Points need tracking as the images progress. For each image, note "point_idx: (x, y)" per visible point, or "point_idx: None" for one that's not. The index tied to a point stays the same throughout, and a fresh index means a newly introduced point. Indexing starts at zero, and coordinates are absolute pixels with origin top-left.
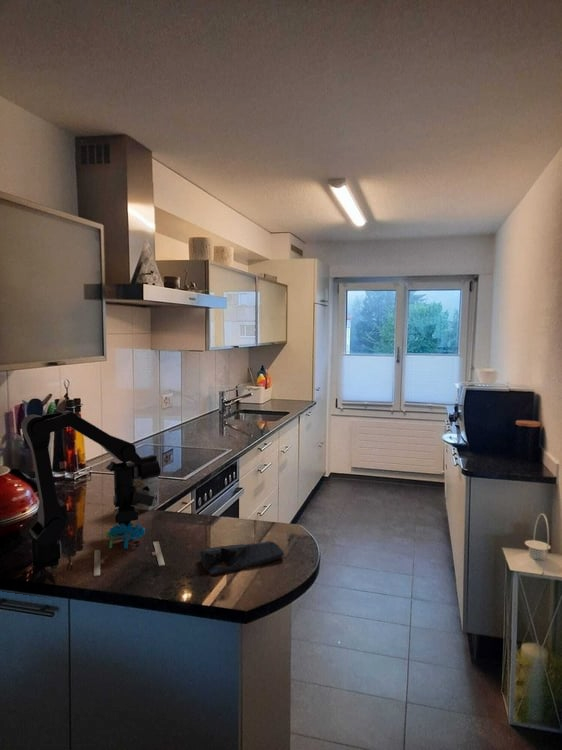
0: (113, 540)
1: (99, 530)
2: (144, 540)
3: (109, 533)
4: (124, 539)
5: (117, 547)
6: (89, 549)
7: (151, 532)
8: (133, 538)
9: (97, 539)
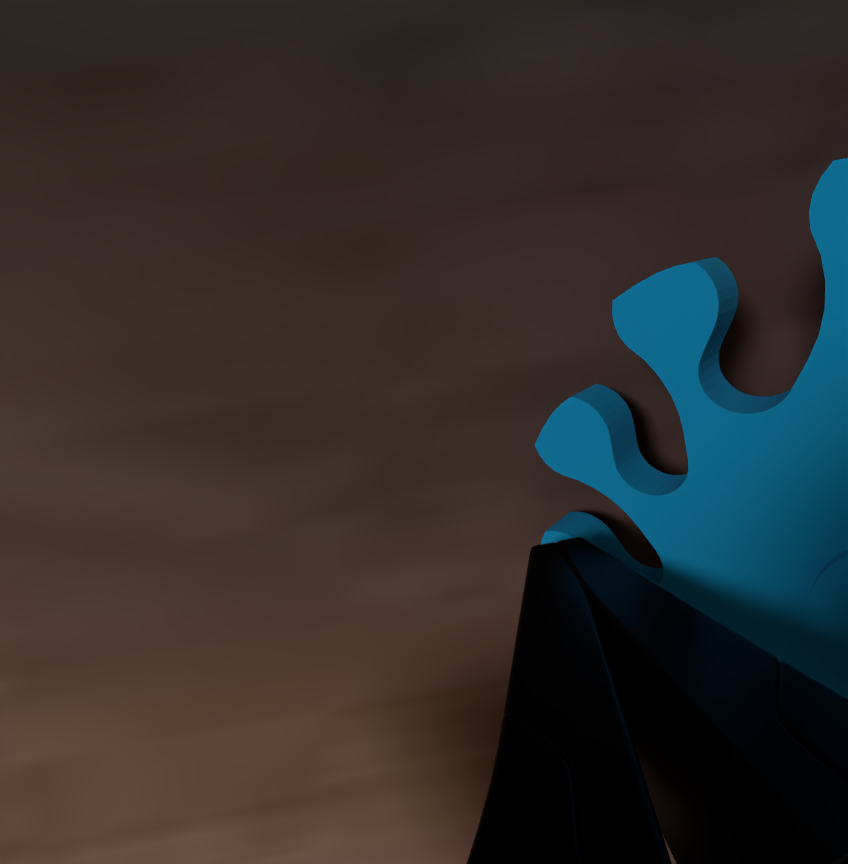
0: None
1: (134, 858)
2: (660, 185)
3: None
4: None
5: None
6: None
7: (222, 70)
8: (624, 411)
9: (433, 818)
